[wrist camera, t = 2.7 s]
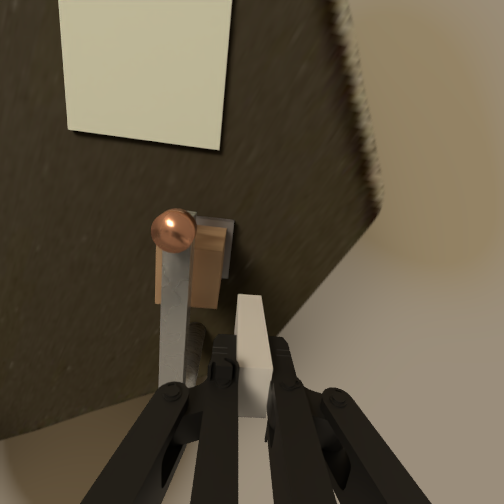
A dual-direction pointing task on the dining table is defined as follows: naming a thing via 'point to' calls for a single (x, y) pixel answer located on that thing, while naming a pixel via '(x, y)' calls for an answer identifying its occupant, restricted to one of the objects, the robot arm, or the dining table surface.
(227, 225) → the brown boxy piece
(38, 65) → the dining table surface
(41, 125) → the dining table surface
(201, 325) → the grey l-shaped handle
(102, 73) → the sage mat
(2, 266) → the dining table surface
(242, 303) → the robot arm
